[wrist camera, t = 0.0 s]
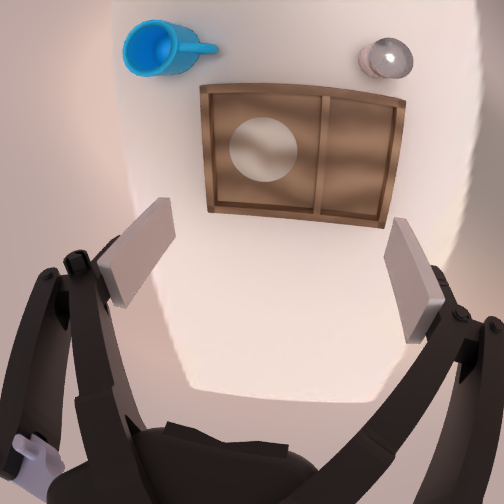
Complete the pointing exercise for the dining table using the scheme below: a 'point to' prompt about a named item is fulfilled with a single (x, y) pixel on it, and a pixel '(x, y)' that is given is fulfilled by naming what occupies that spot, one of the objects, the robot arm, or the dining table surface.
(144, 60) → the mug
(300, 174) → the tray
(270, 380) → the dining table surface
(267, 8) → the dining table surface
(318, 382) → the dining table surface
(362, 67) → the clear rounded cylinder
